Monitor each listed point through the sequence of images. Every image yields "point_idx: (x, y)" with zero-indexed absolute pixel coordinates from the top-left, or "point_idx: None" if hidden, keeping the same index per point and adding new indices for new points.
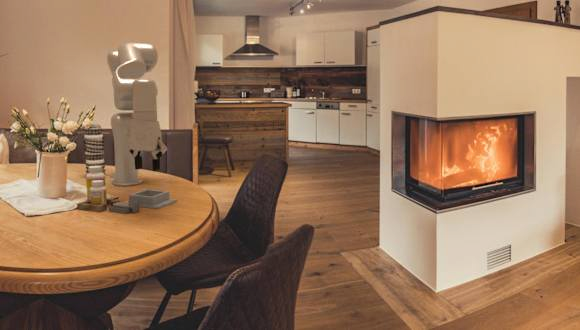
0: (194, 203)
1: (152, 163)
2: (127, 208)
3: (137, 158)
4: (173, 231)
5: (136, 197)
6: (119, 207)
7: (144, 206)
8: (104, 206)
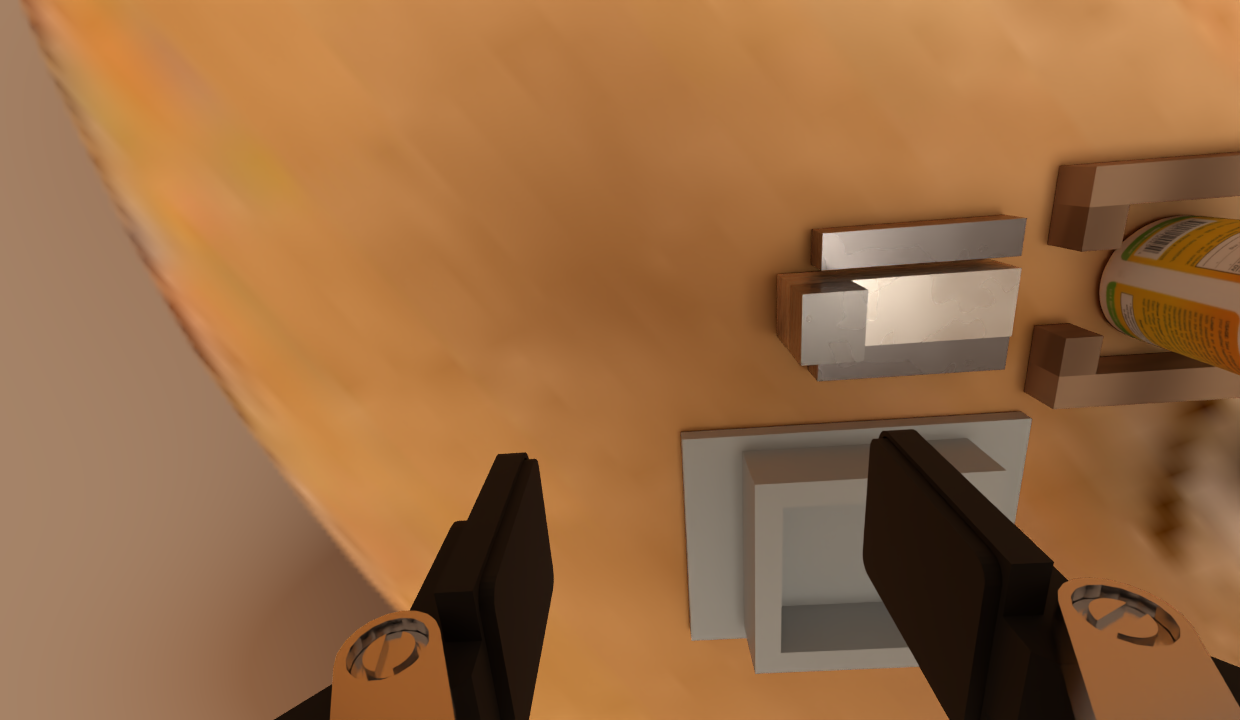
0: (551, 634)
1: (510, 532)
2: (845, 262)
3: (977, 590)
4: (162, 5)
5: None
6: (929, 256)
7: (805, 427)
8: (1077, 223)
